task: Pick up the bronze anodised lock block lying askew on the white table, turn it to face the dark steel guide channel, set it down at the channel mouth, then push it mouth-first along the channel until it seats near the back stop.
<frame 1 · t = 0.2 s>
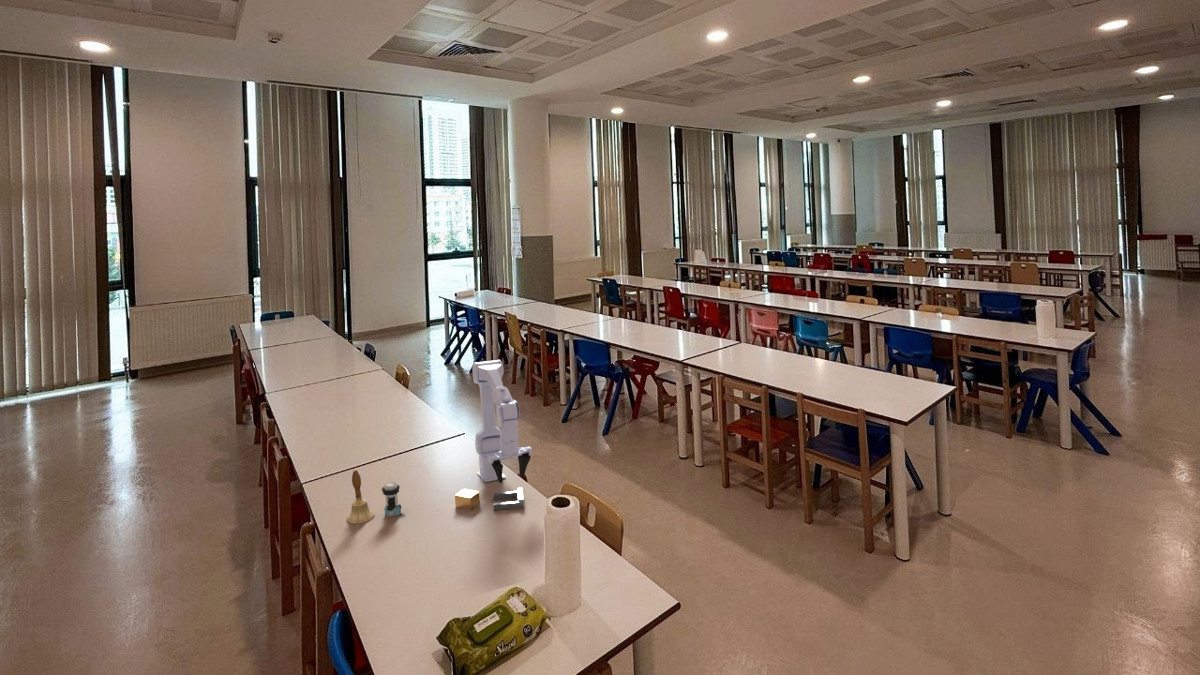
hand: (511, 479, 195), 10 cm above the table, fingers open, 7 cm apart
guide channel: (507, 503, 200), on the table
hand bell: (360, 518, 192), on the table
lock block: (467, 506, 199), on the table
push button: (395, 514, 194), on the table
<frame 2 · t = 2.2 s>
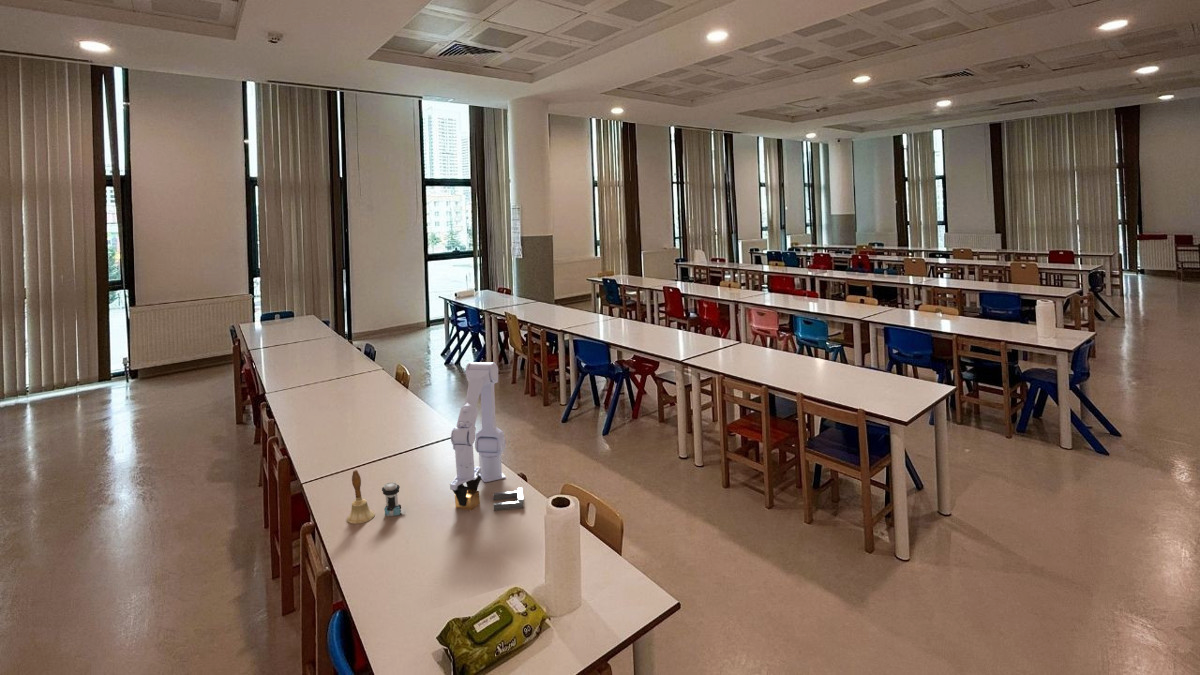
hand: (467, 501, 198), 1 cm above the table, fingers closed on lock block, 5 cm apart
lock block: (467, 505, 199), on the table, touching gripper
everything else where it was.
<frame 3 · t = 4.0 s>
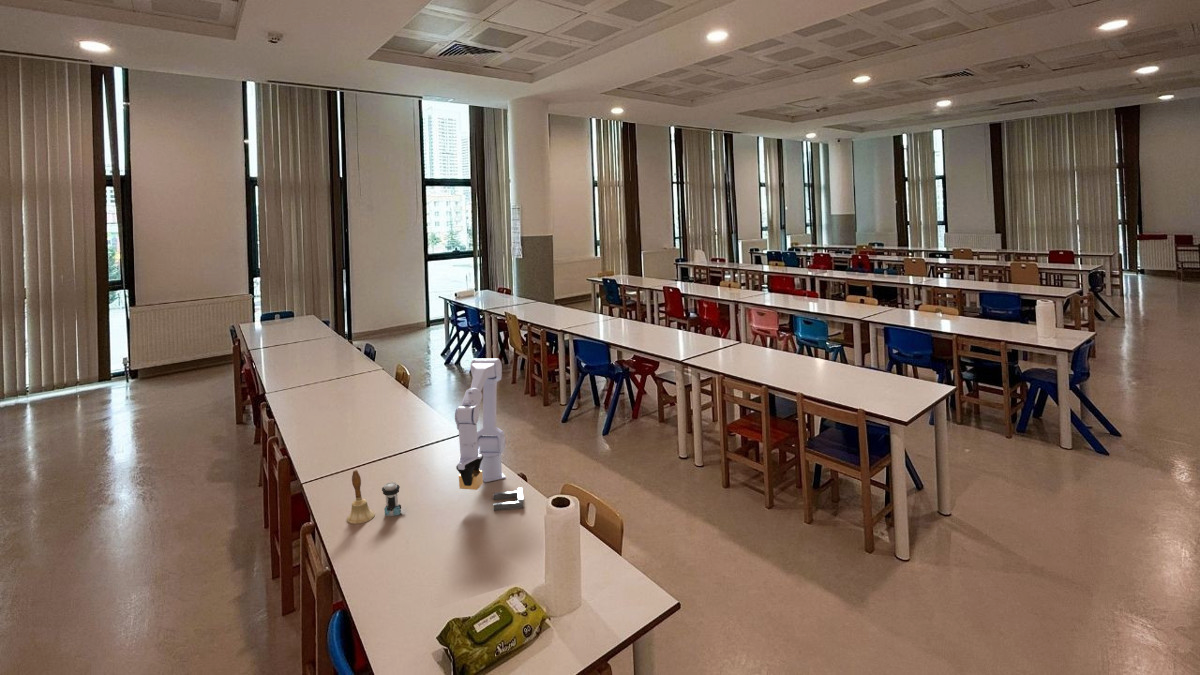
hand: (471, 481, 197), 8 cm above the table, fingers closed on lock block, 5 cm apart
lock block: (471, 486, 197), point 7 cm above the table, touching gripper
everything else where it was.
when the fingers open (3 cm above the table, at t = 5.8 s): lock block drops 1 cm, on the table.
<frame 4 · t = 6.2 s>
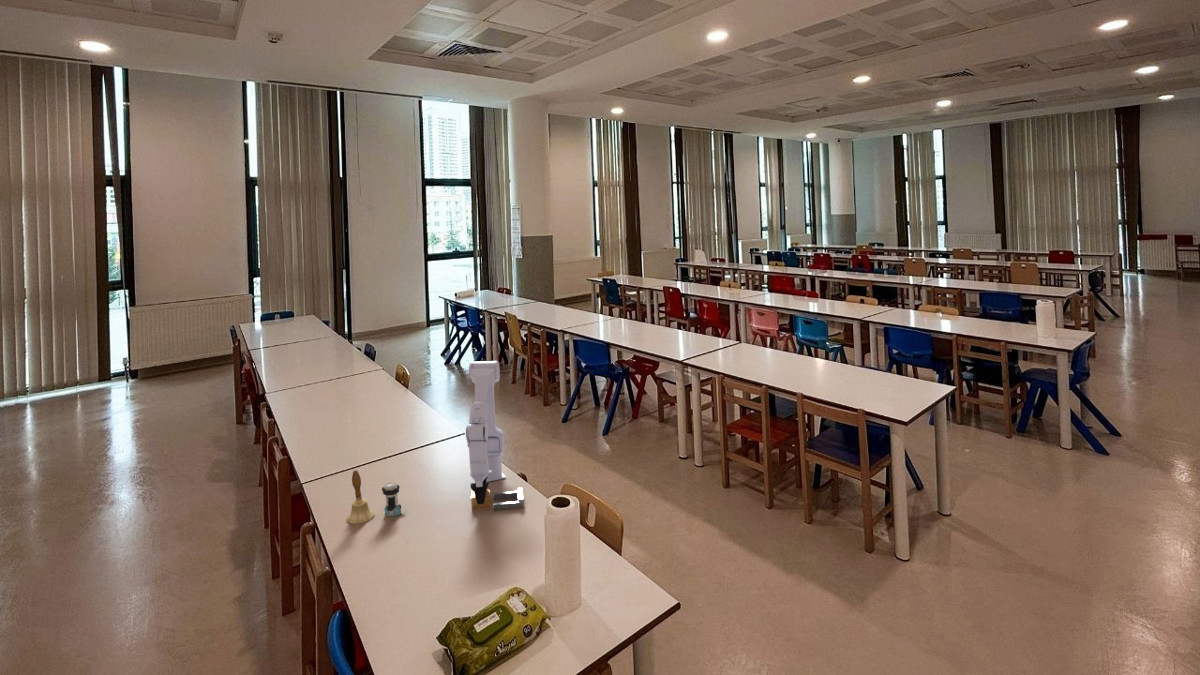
hand: (481, 498, 198), 3 cm above the table, fingers open, 7 cm apart
lock block: (481, 506, 198), on the table
everything else where it was.
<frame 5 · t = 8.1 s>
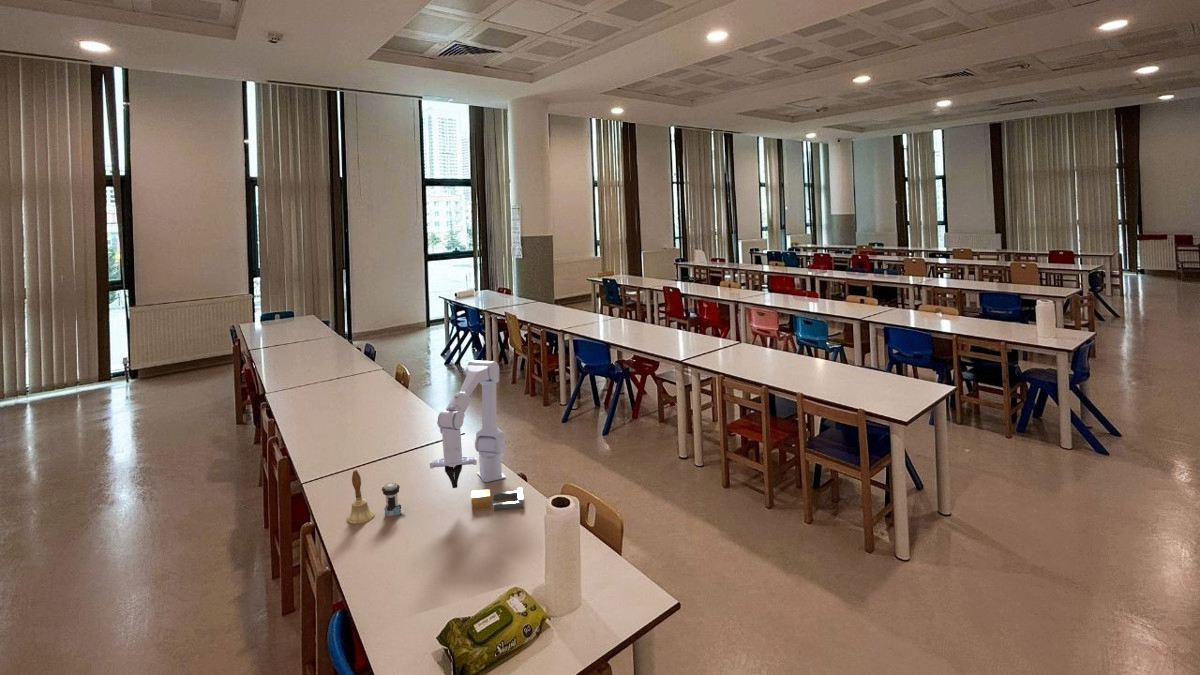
hand: (455, 486, 196), 7 cm above the table, fingers closed
nothing on the table moved.
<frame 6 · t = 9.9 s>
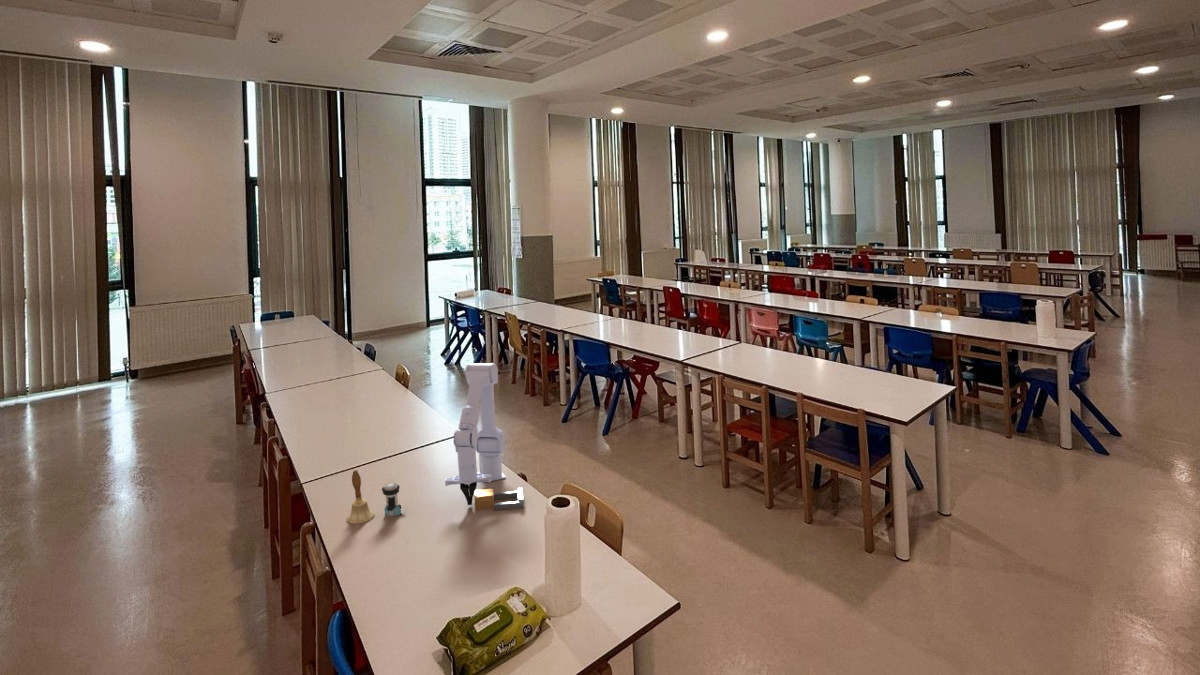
hand: (469, 503, 197), 1 cm above the table, fingers closed
lock block: (484, 505, 198), on the table, touching gripper
everything else where it was.
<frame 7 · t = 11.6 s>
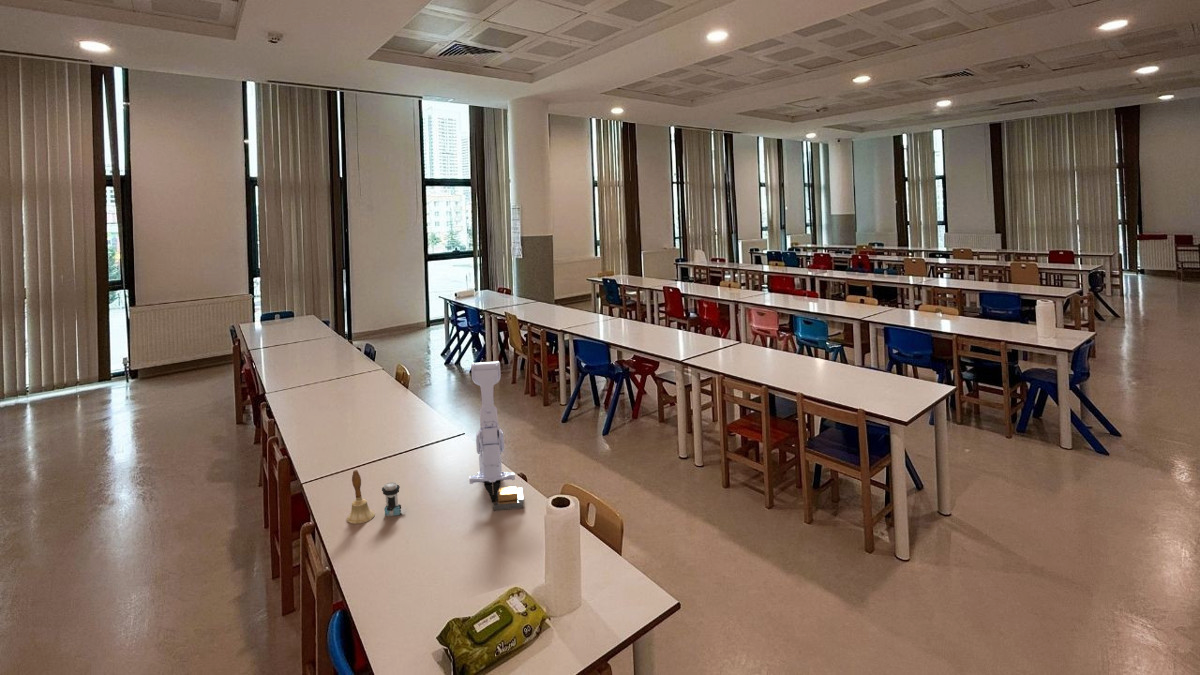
hand: (493, 501, 199), 1 cm above the table, fingers closed
lock block: (508, 503, 200), on the table, touching gripper
everything else where it was.
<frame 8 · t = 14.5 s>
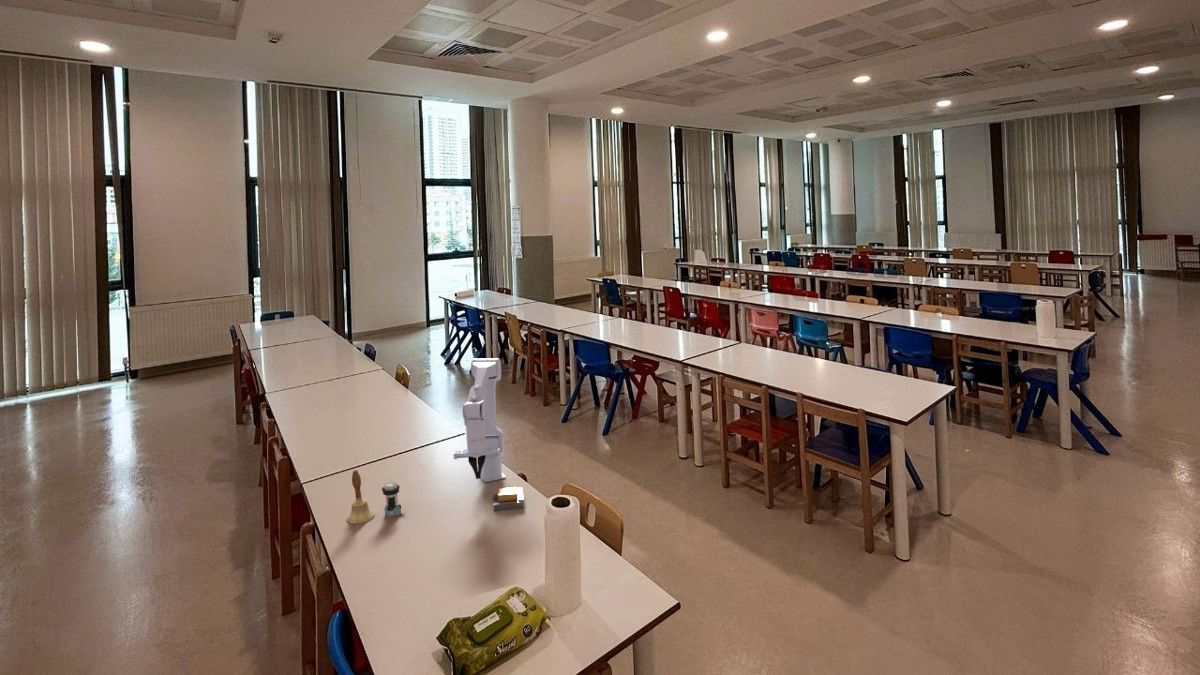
hand: (478, 477, 196), 10 cm above the table, fingers closed
lock block: (508, 503, 200), on the table
everything else where it was.
at the end: lock block 1.2 cm from the target spot, on the table; lock block tilted 0°; the gripper is holding nothing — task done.
